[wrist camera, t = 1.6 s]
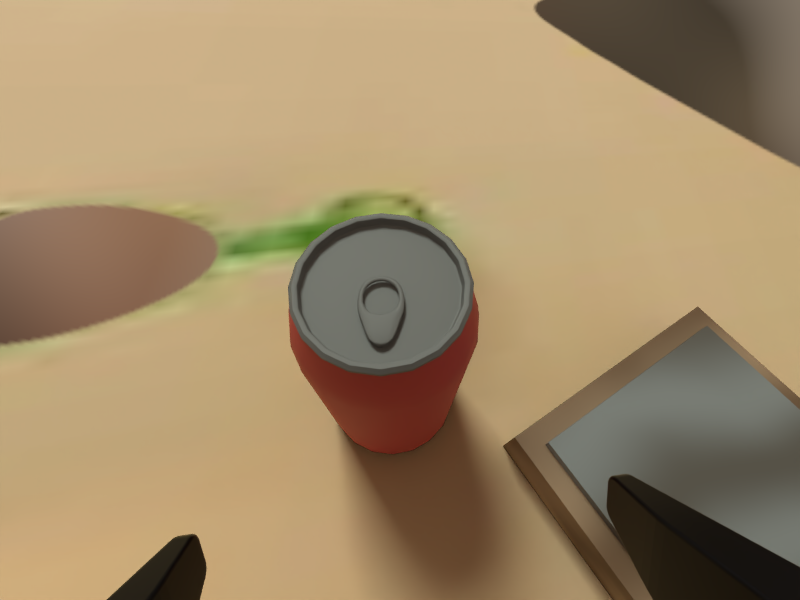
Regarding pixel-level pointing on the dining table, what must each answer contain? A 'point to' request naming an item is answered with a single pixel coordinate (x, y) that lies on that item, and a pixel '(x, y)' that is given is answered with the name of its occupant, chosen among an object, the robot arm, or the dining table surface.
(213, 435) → the dining table surface
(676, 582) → the robot arm
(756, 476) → the walnut stand
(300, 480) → the dining table surface
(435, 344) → the beer can
